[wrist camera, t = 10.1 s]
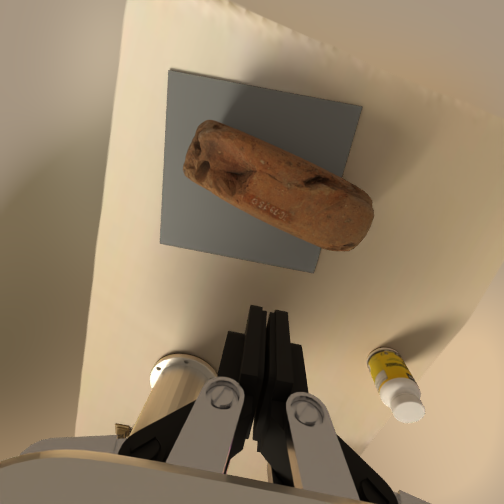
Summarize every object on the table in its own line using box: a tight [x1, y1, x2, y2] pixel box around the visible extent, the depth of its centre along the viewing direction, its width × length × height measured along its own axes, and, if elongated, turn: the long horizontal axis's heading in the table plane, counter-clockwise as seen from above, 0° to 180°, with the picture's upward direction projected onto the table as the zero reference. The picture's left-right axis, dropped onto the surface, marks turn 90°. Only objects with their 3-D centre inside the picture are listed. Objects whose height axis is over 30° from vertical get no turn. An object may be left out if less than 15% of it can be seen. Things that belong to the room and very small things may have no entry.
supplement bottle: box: [367, 348, 425, 423], centre depth 41 cm, size 5×5×10 cm
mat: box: [160, 70, 362, 273], centre depth 37 cm, size 22×23×1 cm
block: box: [183, 120, 374, 251], centre depth 31 cm, size 11×8×20 cm
